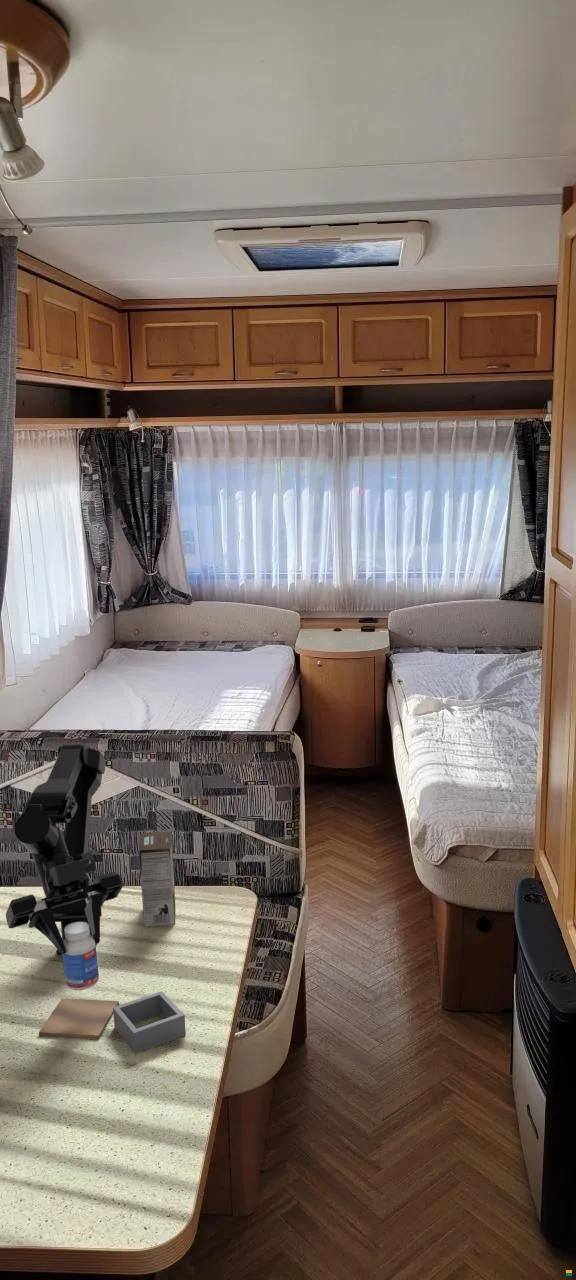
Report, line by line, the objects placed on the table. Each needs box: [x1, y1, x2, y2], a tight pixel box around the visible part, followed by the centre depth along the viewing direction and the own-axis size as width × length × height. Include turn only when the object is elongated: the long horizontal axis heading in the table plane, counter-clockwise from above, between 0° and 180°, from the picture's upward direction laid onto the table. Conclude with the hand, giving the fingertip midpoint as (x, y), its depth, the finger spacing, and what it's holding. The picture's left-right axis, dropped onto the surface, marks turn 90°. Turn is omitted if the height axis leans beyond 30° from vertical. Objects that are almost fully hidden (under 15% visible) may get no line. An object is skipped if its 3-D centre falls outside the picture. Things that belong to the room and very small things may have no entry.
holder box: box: [112, 990, 187, 1055], centre depth 155 cm, size 9×9×4 cm
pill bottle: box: [61, 922, 100, 991], centre depth 157 cm, size 6×5×10 cm
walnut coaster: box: [38, 997, 120, 1040], centre depth 159 cm, size 10×10×1 cm
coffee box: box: [138, 831, 176, 927], centre depth 194 cm, size 9×6×16 cm
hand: (81, 947), depth 156 cm, fingers closed on pill bottle, 5 cm apart
